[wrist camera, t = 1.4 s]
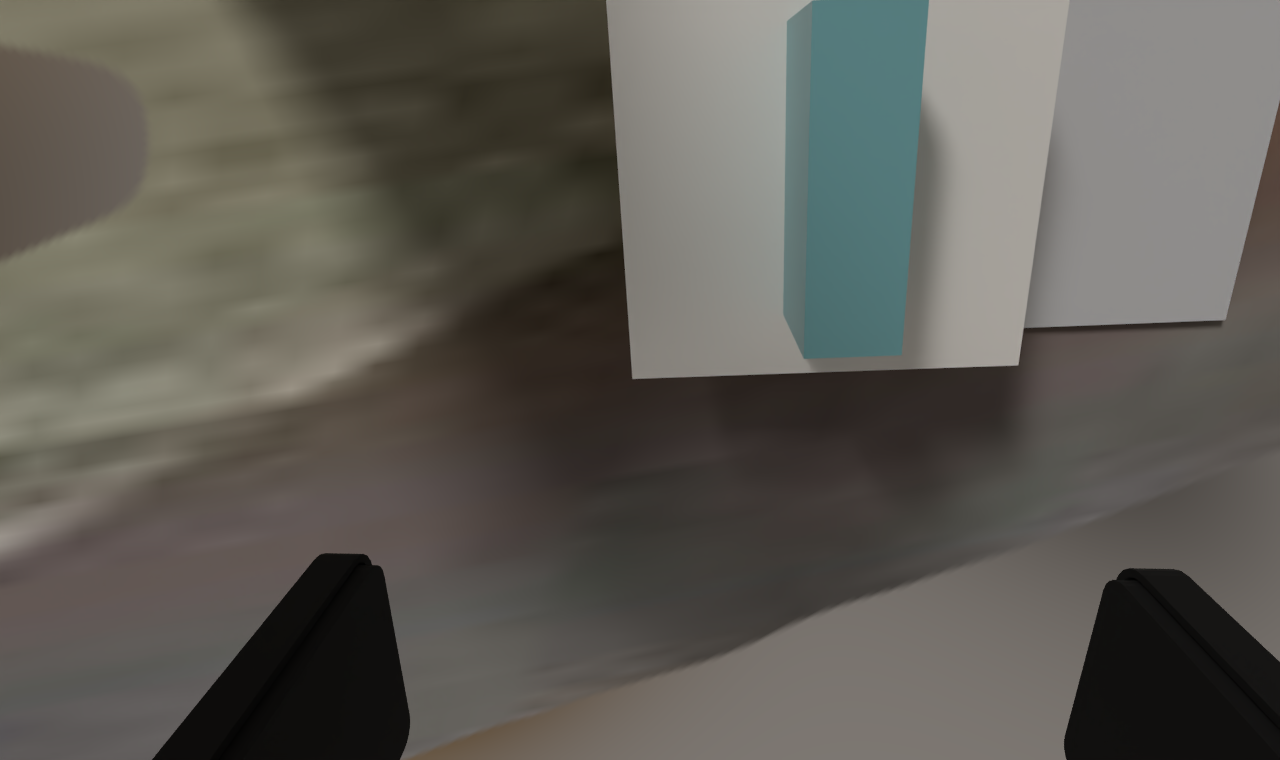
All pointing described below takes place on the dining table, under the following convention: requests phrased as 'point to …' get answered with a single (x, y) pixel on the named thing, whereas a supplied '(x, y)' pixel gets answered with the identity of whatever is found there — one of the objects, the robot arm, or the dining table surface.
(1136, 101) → the mat
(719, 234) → the lid
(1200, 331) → the dining table surface
